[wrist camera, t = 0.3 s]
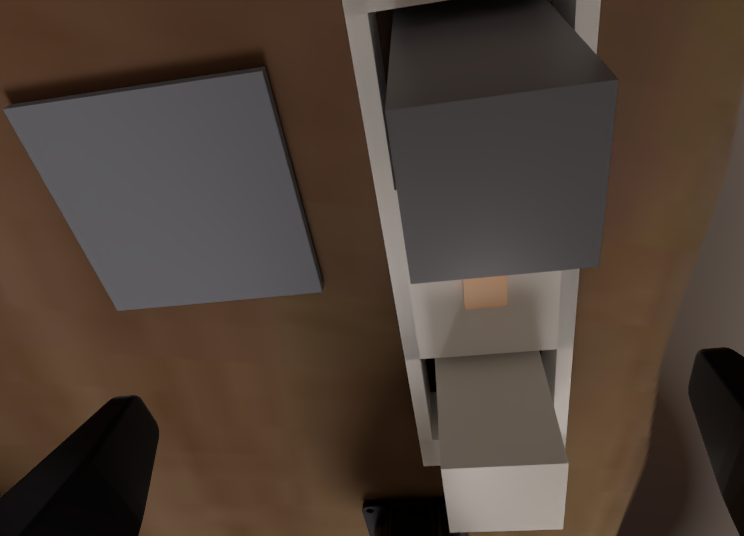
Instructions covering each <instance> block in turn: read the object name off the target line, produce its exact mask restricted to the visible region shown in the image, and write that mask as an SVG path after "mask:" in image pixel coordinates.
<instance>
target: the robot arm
mask: <svg viewBox="0 0 744 536" xmlns="http://www.w3.org/2000/svg"><path fill="white" fill-rule="evenodd" d="M688 394H689V399H690V403H691V406H692V409H693V412H694V414H695V418H696V421H697V424H698V427H699V430H700V432H701V435H702V439H703V442H704V445H705V448H706V451H707V454H708V457H709V460H710V463H711V466H712V469H713V472H714V475H715V478H716V481H717V483H718V486H719V489H720V492H721V495H722V497H723V499H724V502H725V504H726V506H727V508H728V511H729V513H730V515H731V518H732V520H733V522H734V524H735V526H736V528H737V531H738V532H739V535H740V536H744V357H743V356H742V355H740V354H738V353H737V352H735V351H734V350H732V349H729V348H725V347H722V348H710V349H702V350H699V351H698V353H697V354H696V357H695V360H694V364H693V368H692V372H691V376H690V381H689V385H688ZM158 439H159V428H158V425H157V422H156V421H155V419H154V418H153V416H152V415H151V413H150V411H149V410H148V408H147V407H146V405H145V404H144V402H143V401H142V399H141V398H140V397H138V396H136V395H130V396H118V397H114V398H112V399H111V400H109V401H108V402H107V403H106V404H105V405H104V406H103V407H101V408H100V409H99V410H98V411H97V412H96V413H95V414H94V415H93V416H91V417H90V418H89V419H88V420H87V421H86V422H85V423H84V424H82V425H81V426H80V427H79V428H78V429H77V430H76V431H75V432H74V433H72V434H71V435H70V436H69V437H68V438H67V439H66V440H65V441H64V442H62V443H61V444H60V445H59V446H58V447H57V448H56V449H55V450H54V451H52V452H51V453H50V454H49V455H48V456H47V457H46V458H45V459H43V460H42V461H41V462H40V463H39V464H38V465H37V466H36V467H35V468H33V469H32V470H31V471H30V472H29V473H28V474H27V475H26V476H25V477H23V478H22V479H21V480H20V481H19V482H18V483H17V484H16V485H14V486H13V487H12V488H11V489H10V490H9V491H8V492H7V493H6V494H4V495H3V496H2V497H1V498H0V536H138V535H139V531H140V527H141V524H142V520H143V515H144V511H145V506H146V501H147V496H148V491H149V486H150V481H151V475H152V470H153V465H154V460H155V455H156V450H157V444H158ZM362 512H363V515H364V518H365V521H366V524H367V528H368V531H369V534H370V536H467V532H456V533H450V530H449V523H448V516H447V509H446V502H445V498H431V499H405V500H380V501H366V502H364V503H363V509H362Z"/></svg>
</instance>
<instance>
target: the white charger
mask: <svg viewBox="0 0 744 536" xmlns="http://www.w3.org/2000/svg"><path fill="white" fill-rule="evenodd" d="M435 371H436V389H437V408H438V427H439V445H440V464H441V474H442V481H443V488H444V495H445V502H446V509H447V516H448V523H449V530H450V533H456V532H488V531H520V530H553V529H563V523H564V512H565V500H566V489H567V478H568V466H569V462H568V459H567V455H566V451H565V447H564V443H563V439H562V436H561V432H560V428H559V424H558V420H557V416H556V413H555V409H554V405H553V401H552V397H551V393H550V390H549V386H548V382H547V378H546V374H545V370H544V367H543V363H542V359H541V355H540V351H526V352H512V353H498V354H485V355H471V356H457V357H443V358H435Z"/></svg>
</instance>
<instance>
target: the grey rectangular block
mask: <svg viewBox="0 0 744 536" xmlns="http://www.w3.org/2000/svg"><path fill="white" fill-rule="evenodd" d="M618 83H619V79H618V78H617V77H616V76H615V75H614V74H613V72H612V71H611V70H610V69H609V68H608V67H607V66H606V65H605V64H604V62H603V61H602V60H601V59H600V58H599V57H598V56H597V55H596V54H595V52H594V51H593V50H592V49H591V48H590V47H589V46H588V45H587V44H586V42H585V41H584V40H583V39H582V38H581V37H580V36H579V35H578V34H577V32H576V31H575V30H574V29H573V28H572V27H571V26H570V25H569V24H568V22H567V21H566V20H565V19H564V18H563V17H562V16H561V15H560V14H559V12H558V11H557V10H556V9H555V8H554V7H553V6H552V5H551V4H550V2H549V1H548V0H446V1H439V2H433V3H427V4H421V5H414V6H408V7H402V8H395V9H393V21H392V32H391V44H390V56H389V68H388V80H387V92H386V104H385V115H386V121H387V128H388V135H389V142H390V148H391V155H392V162H393V168H394V175H395V182H396V189H397V195H398V202H399V209H400V215H401V222H402V229H403V235H404V242H405V249H406V256H407V262H408V269H409V276H410V282H411V284H418V283H429V282H440V281H451V280H462V279H473V278H484V277H494V276H505V275H516V274H527V273H538V272H549V271H560V270H571V269H582V268H593V267H599V263H600V254H601V244H602V235H603V225H604V216H605V206H606V197H607V187H608V178H609V168H610V159H611V149H612V140H613V130H614V121H615V111H616V102H617V92H618Z"/></svg>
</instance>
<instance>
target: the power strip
mask: <svg viewBox="0 0 744 536" xmlns="http://www.w3.org/2000/svg"><path fill="white" fill-rule="evenodd" d="M439 1H446V0H342V3H343V9H344V15H345V20H346V26H347V32H348V38H349V43H350V49H351V55H352V60H353V66H354V72H355V78H356V83H357V89H358V95H359V100H360V106H361V112H362V118H363V123H364V129H365V135H366V140H367V146H368V152H369V158H370V163H371V169H372V175H373V180H374V186H375V192H376V197H377V203H378V209H379V215H380V220H381V226H382V232H383V237H384V243H385V249H386V255H387V260H388V266H389V272H390V277H391V283H392V289H393V295H394V300H395V306H396V312H397V317H398V323H399V329H400V335H401V340H402V346H403V352H404V357H405V363H406V369H407V374H408V380H409V386H410V392H411V397H412V403H413V409H414V414H415V420H416V426H417V432H418V437H419V443H420V449H421V454H422V460H423V466H441V464H440V445H439V427H438V408H437V392H430V386H429V379H428V372H427V365H426V359H430V358H443V357H457V356H471V355H485V354H498V353H512V352H526V351H540V350H542V351H541V359H542V363H543V367H544V370H545V374H546V378H547V382H548V386H549V390H550V393H551V397H552V401H553V405H554V409H555V413H556V416H557V420H558V424H559V428H560V432H561V436H562V439H563V443H564V447H565V445H566V433H567V420H568V407H569V395H570V382H571V370H572V357H573V345H574V332H575V319H576V307H577V294H578V282H579V269H571V270H560V271H549V272H538V273H527V274H516V275H505V276H494V277H484V278H473V279H462V280H451V281H440V282H429V283H418V284H411V282H410V276H409V269H408V262H407V256H406V249H405V242H404V235H403V229H402V222H401V215H400V209H399V202H398V195H397V189H396V182H395V175H394V168H393V162H392V155H391V148H390V142H389V135H388V128H387V121H386V115H385V104H386V92H387V86H386V80H385V73H384V66H383V59H382V52H381V45H380V38H379V31H378V24H377V17H376V11H383V10H389V9H395V8H402V7H408V6H414V5H421V4H427V3H433V2H439ZM600 5H601V0H553V7H554V8H555V9H556V10H557V11H558V12H559V14H560V15H561V16H562V17H563V18H564V19H565V20H566V21H567V22H568V24H569V25H570V26H571V27H572V28H573V29H574V30H575V31H576V32H577V34H578V35H579V36H580V37H581V38H582V39H583V40H584V41H585V42H586V44H587V45H588V46H589V47H590V48H591V49H592V50H593V51H594V52H595V54H596V55H597V43H598V30H599V18H600Z"/></svg>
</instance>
